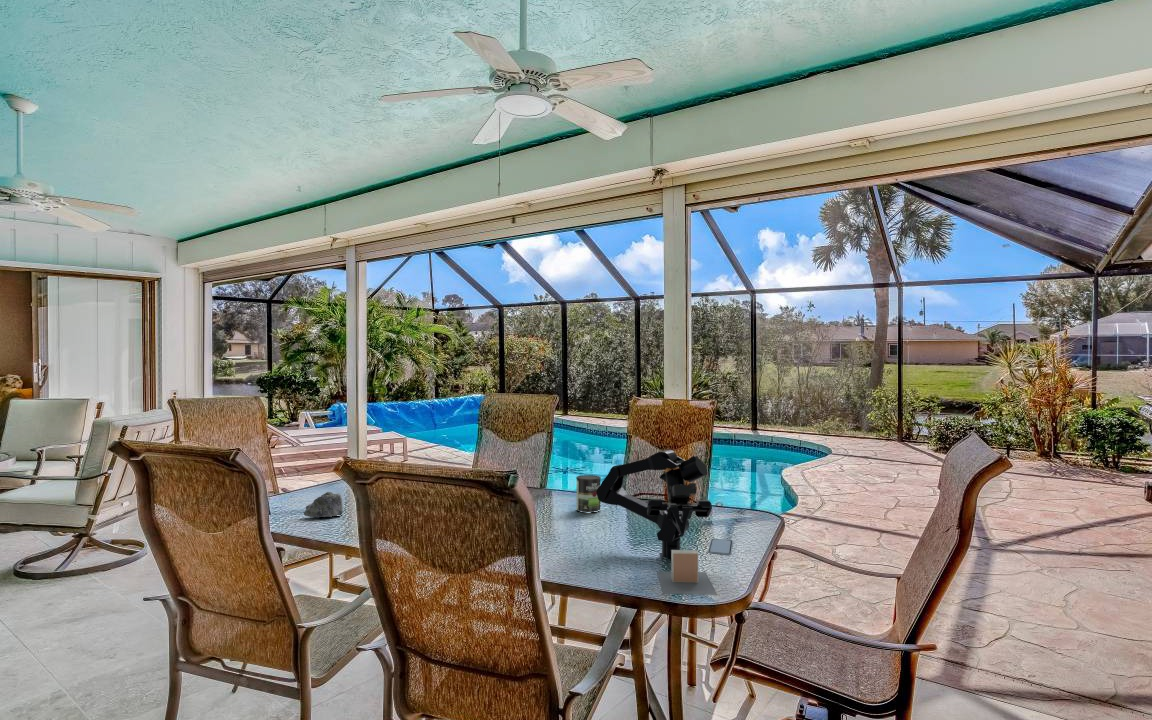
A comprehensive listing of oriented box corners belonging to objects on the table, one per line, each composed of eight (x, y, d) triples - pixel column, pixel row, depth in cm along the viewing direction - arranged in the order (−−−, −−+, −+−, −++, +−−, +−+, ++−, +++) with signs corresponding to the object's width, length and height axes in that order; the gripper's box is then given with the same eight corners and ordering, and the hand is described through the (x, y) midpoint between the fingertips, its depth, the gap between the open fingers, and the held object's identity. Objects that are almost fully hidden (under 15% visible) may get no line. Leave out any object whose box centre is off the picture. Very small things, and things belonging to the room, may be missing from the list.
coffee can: (605, 511, 240) (605, 477, 240) (583, 514, 235) (583, 480, 235) (592, 506, 249) (592, 473, 249) (571, 509, 244) (571, 476, 244)
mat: (656, 574, 166) (656, 571, 166) (705, 575, 165) (705, 572, 166) (663, 597, 150) (663, 593, 150) (717, 598, 149) (717, 594, 149)
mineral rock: (301, 519, 226) (302, 493, 227) (319, 512, 237) (320, 488, 237) (330, 521, 224) (331, 495, 224) (347, 514, 234) (347, 489, 234)
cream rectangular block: (671, 578, 160) (671, 549, 160) (696, 579, 160) (696, 550, 160) (672, 582, 157) (672, 553, 158) (698, 582, 157) (698, 553, 157)
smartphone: (707, 552, 186) (711, 538, 200) (707, 555, 186) (711, 541, 200) (731, 554, 184) (733, 540, 198) (731, 557, 184) (733, 542, 198)
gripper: (649, 472, 172) (653, 519, 162) (711, 473, 173) (720, 520, 162) (645, 492, 180) (649, 538, 169) (704, 493, 181) (712, 539, 170)
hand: (682, 534), depth 167 cm, fingers closed
